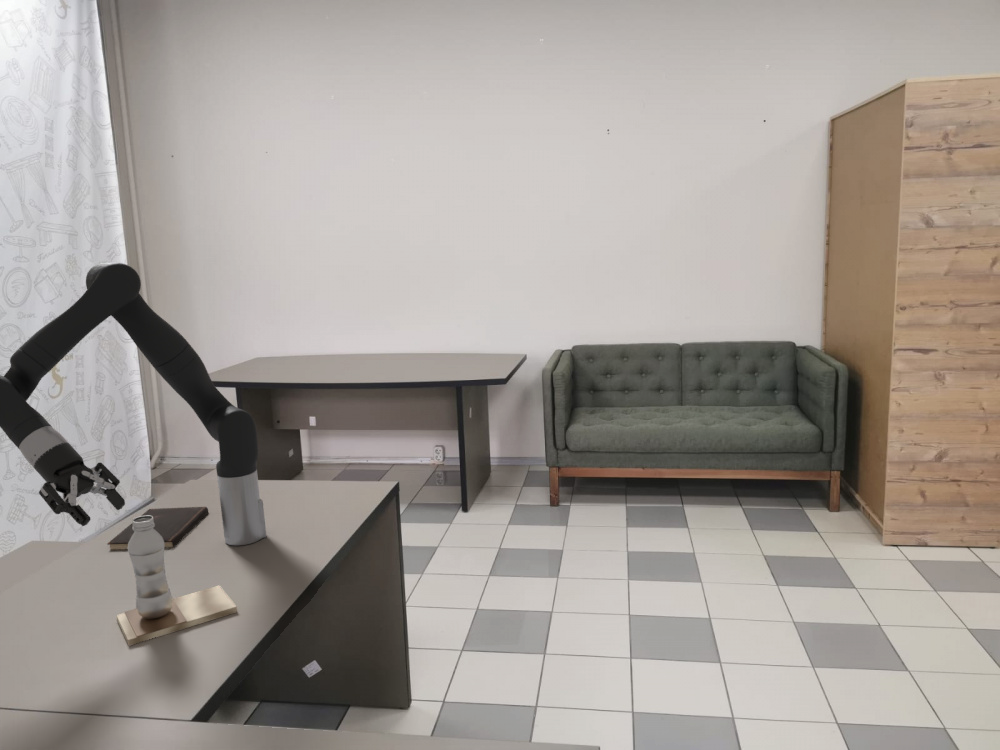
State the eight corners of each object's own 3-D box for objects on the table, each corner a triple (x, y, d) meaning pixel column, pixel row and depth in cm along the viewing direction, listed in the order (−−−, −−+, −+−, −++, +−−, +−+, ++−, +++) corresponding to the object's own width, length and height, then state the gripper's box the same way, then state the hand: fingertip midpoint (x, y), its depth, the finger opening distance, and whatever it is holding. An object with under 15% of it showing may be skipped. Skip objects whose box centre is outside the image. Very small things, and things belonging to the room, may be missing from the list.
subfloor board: (220, 590, 166) (219, 584, 165) (237, 611, 156) (236, 605, 156) (117, 620, 155) (116, 614, 154) (128, 645, 145) (127, 639, 145)
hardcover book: (108, 552, 190) (107, 543, 189) (150, 516, 212) (149, 508, 212) (174, 549, 190) (172, 540, 189) (208, 514, 212) (207, 506, 212)
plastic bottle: (161, 624, 149) (147, 526, 146) (130, 622, 151) (115, 524, 147) (181, 608, 156) (168, 513, 152) (151, 605, 157) (138, 511, 153)
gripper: (27, 453, 145) (84, 516, 144) (88, 432, 158) (141, 490, 157) (10, 478, 148) (66, 540, 146) (72, 456, 161) (124, 513, 160)
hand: (105, 514), depth 152 cm, fingers open, 8 cm apart
